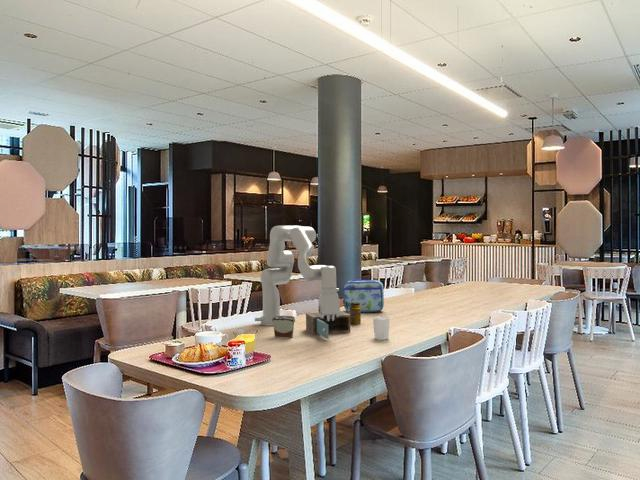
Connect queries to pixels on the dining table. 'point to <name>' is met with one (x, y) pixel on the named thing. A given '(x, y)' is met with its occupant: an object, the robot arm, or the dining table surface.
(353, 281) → the lunch box
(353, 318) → the condiment
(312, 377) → the dining table surface
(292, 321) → the food container
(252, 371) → the dining table surface
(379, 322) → the white cup
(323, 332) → the door
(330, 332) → the bread box
